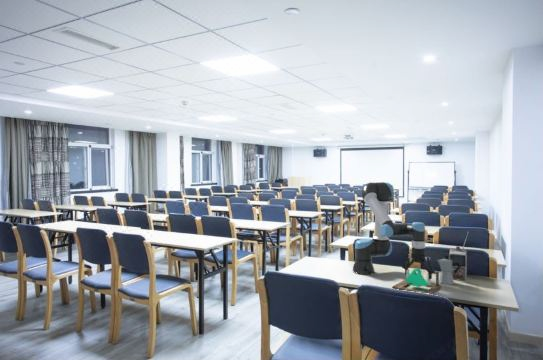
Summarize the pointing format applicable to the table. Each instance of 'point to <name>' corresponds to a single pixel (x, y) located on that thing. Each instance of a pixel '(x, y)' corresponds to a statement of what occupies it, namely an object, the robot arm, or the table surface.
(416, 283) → the camera mount
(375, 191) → the robot arm
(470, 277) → the table surface
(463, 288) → the table surface
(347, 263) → the table surface
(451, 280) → the coffee maker
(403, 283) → the open wooden square frame
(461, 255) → the portable television
